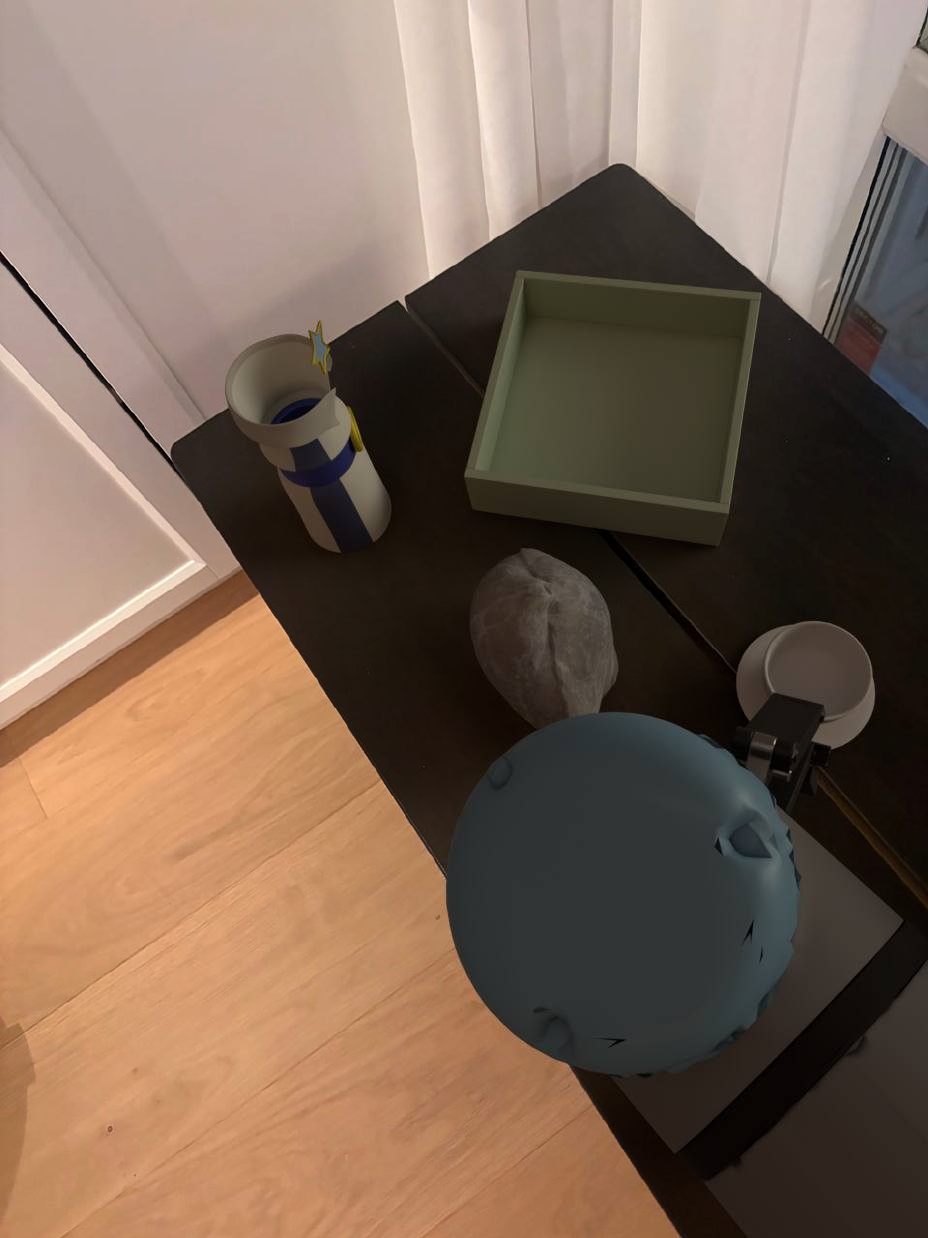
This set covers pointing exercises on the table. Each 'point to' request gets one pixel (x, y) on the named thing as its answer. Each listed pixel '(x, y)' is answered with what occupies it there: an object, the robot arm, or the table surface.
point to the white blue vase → (309, 438)
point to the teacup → (811, 676)
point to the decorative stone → (543, 637)
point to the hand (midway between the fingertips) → (759, 900)
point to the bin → (615, 405)
